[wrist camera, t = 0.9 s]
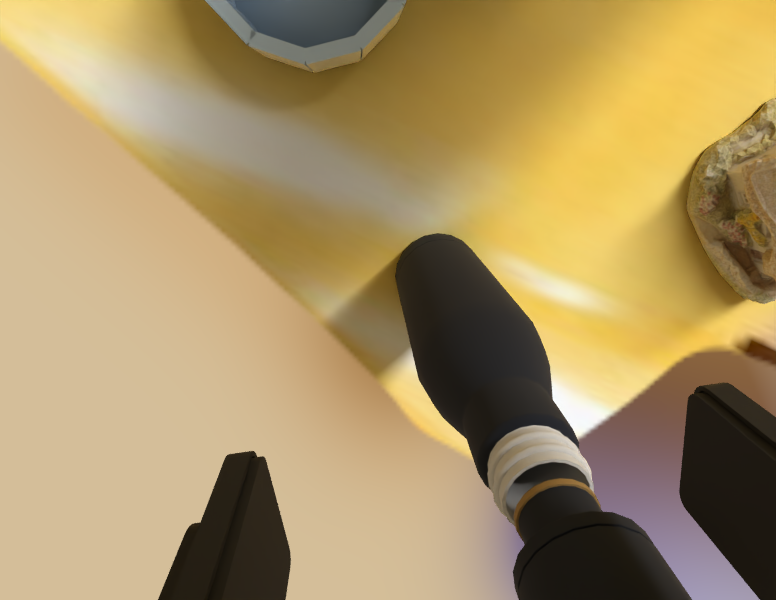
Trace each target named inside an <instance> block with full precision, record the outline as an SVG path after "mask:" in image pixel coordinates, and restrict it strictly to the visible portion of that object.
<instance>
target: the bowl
mask: <svg viewBox="0 0 776 600" xmlns="http://www.w3.org/2000/svg"><path fill="white" fill-rule="evenodd" d="M205 1H206V2H207V3H208V4H209V5H210V6H211V7H212V8H213V9H214V11H215V12H216V13H217V14H218V15H219V16H220V17H221V18H222V19H223V20H224V21H225V22H226V23H227V24H228V26H229V27H230V28H231V29H232V30H233V31H234V32H235V33H236V34H237V35H238V36H239V37H240V38H241V39H242V40H243V42H244V43H245V44H246V45H248V46H249V47H251V48H252V49H254V50H256V51H257V52H259V53H261V54H262V55H264V56H265V57H267V58H270V59H273V60H276V61H279V62H282V63H285V64H288V65H292V66H295V67H298V68H301V69H304V70H307V71H310V72H313V71H314V72H315V73H316V72H320V71H323V70H327V69H331V68H335V67H339V66H343V65H347V64H351V63H355V62H359V61H360V59H361V60H363V58H364V57H365V56H366V55H367V54H368V53H369V52H370V51H371V50H372V49H373V48H374V47H375V46H376V45H377V44H378V43H379V42H380V41H381V40H382V39H383V38H384V37H385V36H386V34H387V33H388V32H389V31H390V30H391V29H392V28H393V27H394V26H395V25H396V23H397V22H398V19H399V17H400V15H401V13H402V11H403V8H404V6H405V4H406V0H205Z"/></svg>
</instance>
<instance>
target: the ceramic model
mask: <svg viewBox="0 0 776 600" xmlns="http://www.w3.org/2000/svg"><path fill="white" fill-rule="evenodd" d="M687 212H688V215H689V217H690V220H691V222H692V224H693V226H694V228H695V230H696V233H697V235H698V237H699V240H700V242H701V244H702V246H703V248H704V250H705V251H706V253H707V255H708V257H709V258H710V260H711V262H712V263H713V265H714V266H715V268H716V269H717V271H718V272H719V273H720V275H721V276H722V277H723V278H724V279H725V280H726V281H727V283H728V284H729V285H731V287H732V288H733V289H734V291H735V292H737V293H738V294H739V295H741V296H742V297H743V298H744V299H750V300H752V301H756V302H758V303H762V304H765V303H768V302H771V301H775V300H776V98H775V99H771V100H770V101H768V102H766V103H765V104H764V105H763V107H762V108H761V109H760V110H759V111H758V112H757V113H756V114H755V115H754V116H753V117H752V118H750V120H748V121H746V122H745V123H744V124H742V125H741V126H740V127H739V128H737V129H736V130H735V131H733V132H732V133H730V134H729V135H727V136H726V137H724V138H722V139H720V140H719V141H717V142H716V143H714V144H713V145H712V146H710V147H709V148H707V149H706V150H705V151H704V153H703V154H702V156H701V157H700V160H699V161H698V163H697V165H696V166H695V168H694V171H693V174H692V177H691V181H690V187H689V192H688V197H687Z"/></svg>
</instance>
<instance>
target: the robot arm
mask: <svg viewBox="0 0 776 600" xmlns="http://www.w3.org/2000/svg"><path fill="white" fill-rule="evenodd" d="M681 469H682V470H681V480H680V498H681V501H682V503H683V505H684V507H685V509H686V510H687V511H688V513H689V514H690V515H691V516H692V517H693V519H694V520H695V521H696V522H697V523H698V525H699V526H700V527H701V528H702V529H703V531H704V532H705V533H706V534H707V536H708V537H709V538H710V539H711V541H712V542H713V543H714V544H715V545H716V547H717V548H718V549H719V550H720V551H721V553H722V554H723V555H724V556H725V558H726V559H727V560H728V561H729V562H730V564H731V565H732V566H733V567H734V569H735V570H736V571H737V572H738V573H739V575H740V576H741V577H742V578H743V579H744V581H745V582H746V583H747V584H748V586H749V587H750V588H751V589H752V590H753V592H754V593H755V594H756V595H757V596H758V598H759V599H760V600H776V417H775V416H773V415H772V414H771V413H769V412H768V411H766V410H765V409H764V408H762V407H761V406H760V405H758V404H757V403H756V402H754V401H753V400H751V399H750V398H749V397H747V396H746V395H745V394H743V393H742V392H740V391H739V390H738V389H736V388H735V387H734V386H732V385H731V384H729V383H718V384H711V385H704V386H699V387H697V388H696V390H695V392H694V394H692V395H690V396H689V398H688V405H687V415H686V426H685V436H684V448H683V458H682V468H681ZM290 561H291V558H290V549H289V545H288V541H287V537H286V534H285V530H284V526H283V522H282V519H281V515H280V511H279V507H278V503H277V500H276V496H275V492H274V488H273V485H272V481H271V477H270V473H269V470H268V466H267V462H266V460H265V458H264V457H257V455H256V453H255V452H254V451H249V452H242V453H235V454H229V455H227V456H226V458H225V460H224V462H223V465H222V468H221V470H220V473H219V476H218V478H217V481H216V483H215V486H214V489H213V491H212V494H211V497H210V500H209V502H208V504H207V507H206V510H205V512H204V515H203V518H202V520H201V523H194V524H192V525H191V526H189V528H188V529H187V531H186V533H185V535H184V538H183V540H182V542H181V545H180V547H179V550H178V552H177V555H176V557H175V560H174V562H173V565H172V567H171V569H170V572H169V574H168V577H167V579H166V582H165V584H164V587H163V589H162V592H161V594H160V596H159V599H158V600H285V599H286V592H287V585H288V579H289V572H290Z"/></svg>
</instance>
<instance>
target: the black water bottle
mask: <svg viewBox="0 0 776 600" xmlns="http://www.w3.org/2000/svg"><path fill="white" fill-rule="evenodd" d="M395 277H396V283H397V288H398V293H399V297H400V301H401V305H402V310H403V314H404V318H405V322H406V327H407V331H408V335H409V340H410V344H411V348H412V352H413V357H414V361H415V365H416V369H417V374H418V378H419V381H420V382H421V384H422V386H423V387H424V389H425V391H426V392H427V394H428V396H429V397H430V399H431V401H432V402H433V404H434V406H435V407H436V409H437V410H438V411H439V413H440V414H441V415H442V417H443V418H444V419H445V420H446V421H447V422H448V423H449V424H450V425H452V426H453V427H454V428H455V429H456V430H457V431H458V432H459V433H460V434H462V435H463V436H464V437H465V438H466V439H467V441H468V444H469V447H470V450H471V453H472V456H473V459H474V462H475V465H476V468H477V471H478V473H479V475H480V477H481V478H482V480H483V482H484V484H485V485H486V486H487V487H488V488H489V489H491V491H492V492H493V495H494V501H495V503H496V505H497V507H498V508H499V510H500V512H501V513H502V514H503V515H505V516H506V517H507V519H508V520H509V522H511V523H512V524H513V525H514V526H515V527H516V530H517V532H518V534H519V536H520V537H521V539H522V540H523V541H524V544H525V545H524V547H523V548H522V550H521V551H520V552H519V554H518V556H517V560H516V563H515V566H514V570H513V576H514V584H515V589H516V592H517V595H518V598H519V600H692V599H691V597H690V596H689V594H688V593H687V592H686V590H685V589H684V587H683V586H682V584H681V583H680V581H679V580H678V579H677V577H676V576H675V574H674V573H673V571H672V570H671V568H670V567H669V566H668V564H667V563H666V561H665V560H664V558H663V557H662V555H661V554H660V552H659V551H658V550H657V548H656V547H655V546H654V544H653V542H652V541H651V539H650V538H649V536H648V535H647V534H646V532H645V531H644V530H643V529H642V528H641V527H639V526H638V525H637V524H636V523H635V522H634V521H632V520H631V519H629V518H626V517H623V516H621V515H618V514H615V513H612V512H603V511H602V510H601V508H600V504H599V502H598V499H597V498H596V495H595V494H594V489H593V482H592V476H591V470H590V468H589V466H588V464H587V462H586V459H585V458H583V457H582V456H581V454H580V452H579V442H578V439H577V437H576V435H575V433H574V431H573V429H572V427H571V426H570V424H569V423H568V422H567V420H566V419H565V417H564V416H563V414H562V413H561V411H560V410H559V408H558V407H557V405H556V404H555V403H554V401H553V399H552V385H551V373H550V365H549V361H548V358H547V355H546V351H545V349H544V346H543V344H542V341H541V339H540V337H539V335H538V332H537V330H536V328H535V326H534V324H533V322H532V321H531V320H530V319H529V317H528V316H527V315H526V314H525V313H524V311H523V310H522V309H521V308H520V307H519V305H518V304H517V303H516V302H515V301H514V300H513V298H512V297H511V296H510V295H509V294H508V292H507V291H506V290H505V289H504V288H503V286H502V285H501V284H500V283H499V282H498V281H497V279H496V278H495V277H494V276H493V275H492V273H491V272H490V271H489V270H488V269H487V267H486V266H485V265H484V264H483V263H482V262H481V260H480V259H479V258H478V257H477V256H476V254H475V253H474V252H473V251H472V250H471V249H470V248H469V247H468V246H467V245H466V244H465V243H464V242H463V241H462V240H460V239H458V238H456V237H454V236H452V235H446V234H438V233H437V234H432V235H427V236H423V237H421V238H420V239H418V240H416V241H414V242H412V243H411V244H410V245H409V246H408V247H407V248H406V249H405V250H404V251H403V253H402V255H401V257H400V259H399V261H398V263H397V268H396V275H395Z"/></svg>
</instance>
